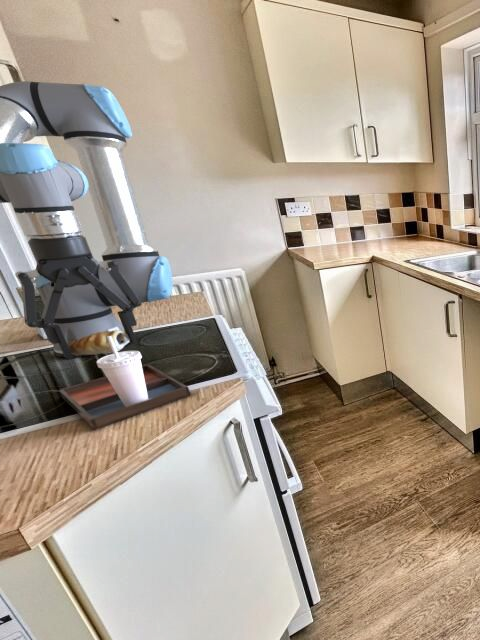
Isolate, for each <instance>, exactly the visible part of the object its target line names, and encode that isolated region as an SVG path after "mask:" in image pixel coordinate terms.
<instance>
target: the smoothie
mask: <svg viewBox="0 0 480 640" xmlns="http://www.w3.org/2000/svg"><path fill="white" fill-rule="evenodd" d="M107 338H108V340H109V343H110V345H111V348H112V350H113V352H112V353H110V354H108V355H107V354H106V355H105V356H102V357H100V358H98V359H97V360H96V365H97V368H99V369H101V371H102V372H103V374H104V375H105V376H106V377H107V378H108V380H109V382H110V383H111V385H112V386H113V388H114V390H115V391H116V393H117V394H118V396H119V398H120V399H121V401H122V403H123V404H124V406H130V405H133V404H136V403H139V402H142V401H145V400H147V399H148V394H147V389H146V384H145V379H144V374H143V369H142V366H143V365H142V361H141V359H142V358H143V356H142V354H141V352H140V351H139V350H125V351H117V350H116V347H115V345H114V342H113V340H112V337H111V336H107Z"/></svg>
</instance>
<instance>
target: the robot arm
mask: <svg viewBox="0 0 480 640" xmlns="http://www.w3.org/2000/svg"><path fill="white" fill-rule="evenodd" d="M35 137H63V139H64V142H65V144H66V145H68V146H69V147H71V148H72V149H74V150H75V151H76V155H77V157H78V161H79V164H80V166H81V167H80V168H81V169H79V168H78V167H77V166H75V165H73V164H71V163H68V162H66V161H63V160H60V159H56V158H55V155H54V154H53V151H52V149H51V148H50V147H48V146H47V145H44V144H40V143H26V142H30V141H31V140H33V139H34V138H35ZM132 137H133V132H132V127H131V125H130V123H129V120H128V119H127V116H126V114H125V111H124V110H123V108H122V106H121V105H120V102H119V101H118V99H117V98H116V96H115V95H114V94H113V92H111V90H109V89H108V88H106V87H105V86H101V85H92V84H85V83H61V82H42V81H29V80H21V81H14V82H9V83H5V84H2V85H0V204H5V203H6V204H11V205H12V206H11V207H12V208H13V211H14V213H15V215H16V218H17V220H18V222H19V225H20V228H21V230H22V232H23V234H24V236H26V237H30V239H28V241H27V244H28V246H29V248H30V251H31V253H32V255H33V257H34V260H35V262H36V267H35V269H32V270H27V271H16V272H15V277H16V279H17V281H18V282H19V283H20V285H21V286H20V287H22V297H23V302H22V307H23V318H24V324H25V325H26V326H27V327H29V328H35V327H40V328H43V329H44V332H45V334H46V336H47V338H48V339H47V340H48V342H49V343H50V344H52V345H53V351H54V354H55V355H56V356H57V357H60V358H65V359H67V360H68V361H69V360H72V359H74V358H77V357H84V356H87V355H74V354H71V351H70V349H69V347H68V345H67V344H69V343H70V342H72V341H74V340H79V339H80V338H83V337H86V336H88V335H90V334H95V333H97V332H106V331H115V330H122V331H124V332H125V333H126V334H127V335H128V336H129V338H130V342H129V343H131V344H137V343H138V340H137V338H136V334H135V331H134V329H133V327H135V326H137V324H138V323H137V320H136V317H135V314H134V309H136V308H138V307H141V306H142V303H152V302H157V301H162V300H167V299H169V298H170V296H171V295H172V292H173V285H174V283H173V281H174V280H173V272H172V268H171V265H170V261H169V259H168V258H167V257H166V256H162V255H161V256H160V253H159V250H157V249H156V248H155V247H153V246H151V245H150V243H149V240H148V237H147V233H146V230H145V226H144V224H143V220H142V216H141V214H140V210H139V209H140V208H139V207H138V201H137V199H136V196H135V193H134V190H133V185H132V182H131V179H130V176H129V172H128V169H127V165H126V162H125V158H124V155H123V151H124V150H126V148H127V147H128V143H127V139H130V138H132ZM88 192H89V195H90V198H91V201H92V205H93V209H94V212H95V214H96V217H97V220H98V221H97V222H98V223H99V226H100V230H101V233H102V237H103V239H104V242H105V246H106V249H105V250H104V251H103V252H102V253H101V258H102V260H101V261H98V260H96V258H94V255H93V253H92V251H91V249H90V246H89V243H88V240H87V238H86V236H84V235H81V234H80V233H82V232H83V227H82V225H81V223H80V219H79V217H78V215H77V212H76V210H75V207H74V205H73V203H72V202H74V201H76V200H79V199H81V198H83V197H84V196H85V195H86V194H87V193H88ZM35 284H36V289H37V290H38V292H39V294H40V296H41V298H42V300H43V303H44V305H45V307H44V311H43V314H42V318H41V320H37V312H36V300H35V289H34V285H35ZM116 306H117V307H118V308H119V309H120V311H117V315H118V317H119V319H118V318H117V317H116V315H115V314H114V312H113V310H112V307H116Z"/></svg>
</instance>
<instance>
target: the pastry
mask: <svg viewBox="0 0 480 640" xmlns="http://www.w3.org/2000/svg"><path fill="white" fill-rule="evenodd" d="M107 336H111V337H112V340H113V342H114V345H115V347H116V350H117V352H121V350H123V349H124V347H125V346H126V345H128V344H130V343H131V342H130V338H129V336H128V335H127V334H126V333H125V332H124V331H122V330H115V331H106V332H97V333H95V334H90V335H88V336H86V337H83V338H80V339H79V340H74V341H72V342H70V343H69V344H67V345H68V347H69V349H70V351H71V354H74V355H86V356H94V355H95V356H96V355H100V354H103V355H105V354H106V355H107V354H113V350H112V348H111V345H110V343H109V340H108V338H107Z"/></svg>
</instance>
